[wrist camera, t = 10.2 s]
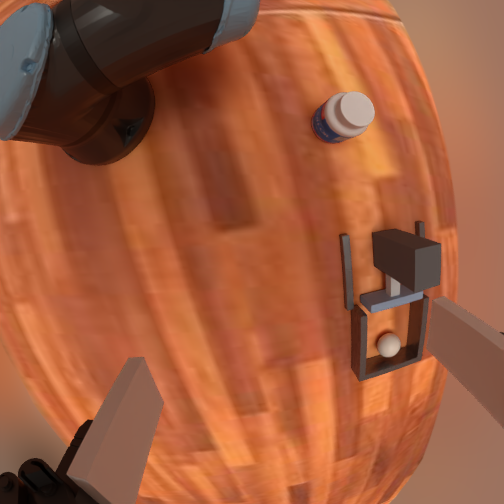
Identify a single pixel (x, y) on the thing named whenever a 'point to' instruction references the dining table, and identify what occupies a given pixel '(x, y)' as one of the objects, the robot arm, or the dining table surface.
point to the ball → (388, 345)
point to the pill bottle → (343, 117)
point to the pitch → (359, 325)
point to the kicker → (403, 268)
